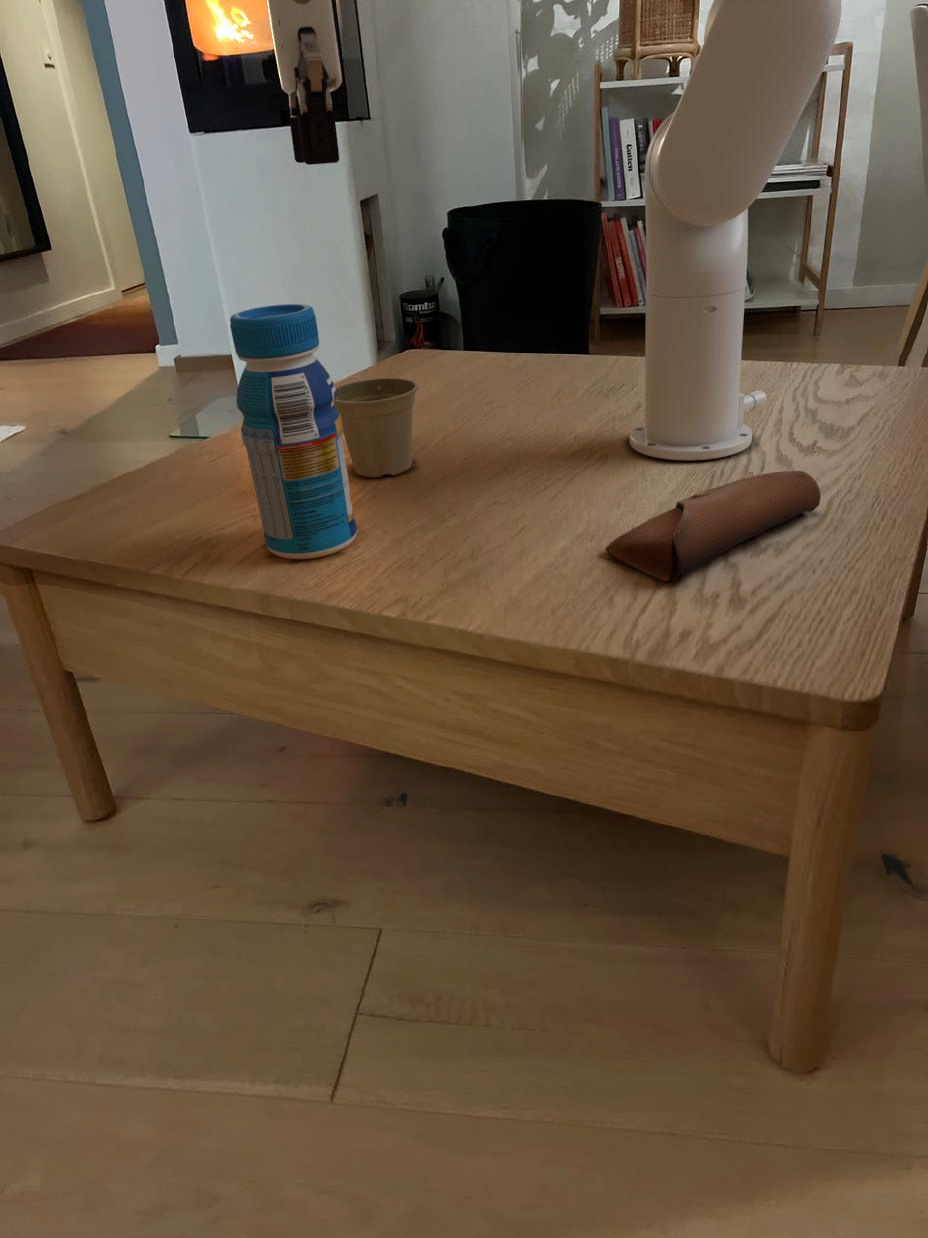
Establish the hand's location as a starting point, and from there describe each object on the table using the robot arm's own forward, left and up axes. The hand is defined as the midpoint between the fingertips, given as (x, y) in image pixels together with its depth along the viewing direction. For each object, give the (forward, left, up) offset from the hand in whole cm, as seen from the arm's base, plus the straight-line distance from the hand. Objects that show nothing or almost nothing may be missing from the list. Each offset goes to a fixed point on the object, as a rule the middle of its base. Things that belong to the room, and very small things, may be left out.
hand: (316, 162), depth 87 cm
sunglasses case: (-11, +42, -30) cm, 52 cm away
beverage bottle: (+14, +18, -30) cm, 38 cm away
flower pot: (0, +5, -30) cm, 30 cm away
